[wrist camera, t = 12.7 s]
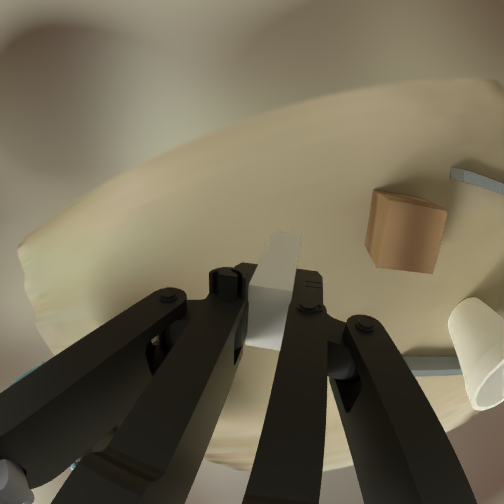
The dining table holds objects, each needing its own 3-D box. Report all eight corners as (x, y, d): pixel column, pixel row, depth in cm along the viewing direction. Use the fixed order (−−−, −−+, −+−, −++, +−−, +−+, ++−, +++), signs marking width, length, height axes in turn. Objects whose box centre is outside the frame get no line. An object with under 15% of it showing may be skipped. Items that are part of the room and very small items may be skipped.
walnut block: (364, 244, 28) (376, 267, 22) (373, 189, 26) (388, 200, 20) (412, 251, 27) (432, 273, 21) (423, 198, 25) (447, 211, 19)
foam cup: (495, 317, 27) (535, 373, 15) (449, 354, 30) (477, 419, 18) (481, 272, 25) (534, 329, 14) (428, 316, 29) (464, 388, 17)
